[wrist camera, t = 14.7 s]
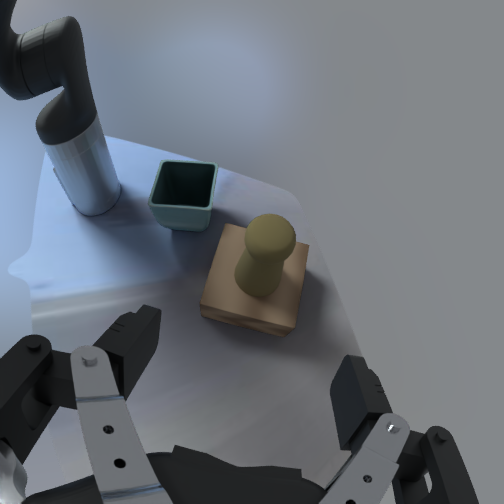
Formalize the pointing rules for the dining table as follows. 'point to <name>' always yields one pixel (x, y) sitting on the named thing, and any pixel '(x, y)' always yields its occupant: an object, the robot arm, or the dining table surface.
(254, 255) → the cork
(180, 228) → the flower pot
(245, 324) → the walnut block
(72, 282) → the dining table surface
